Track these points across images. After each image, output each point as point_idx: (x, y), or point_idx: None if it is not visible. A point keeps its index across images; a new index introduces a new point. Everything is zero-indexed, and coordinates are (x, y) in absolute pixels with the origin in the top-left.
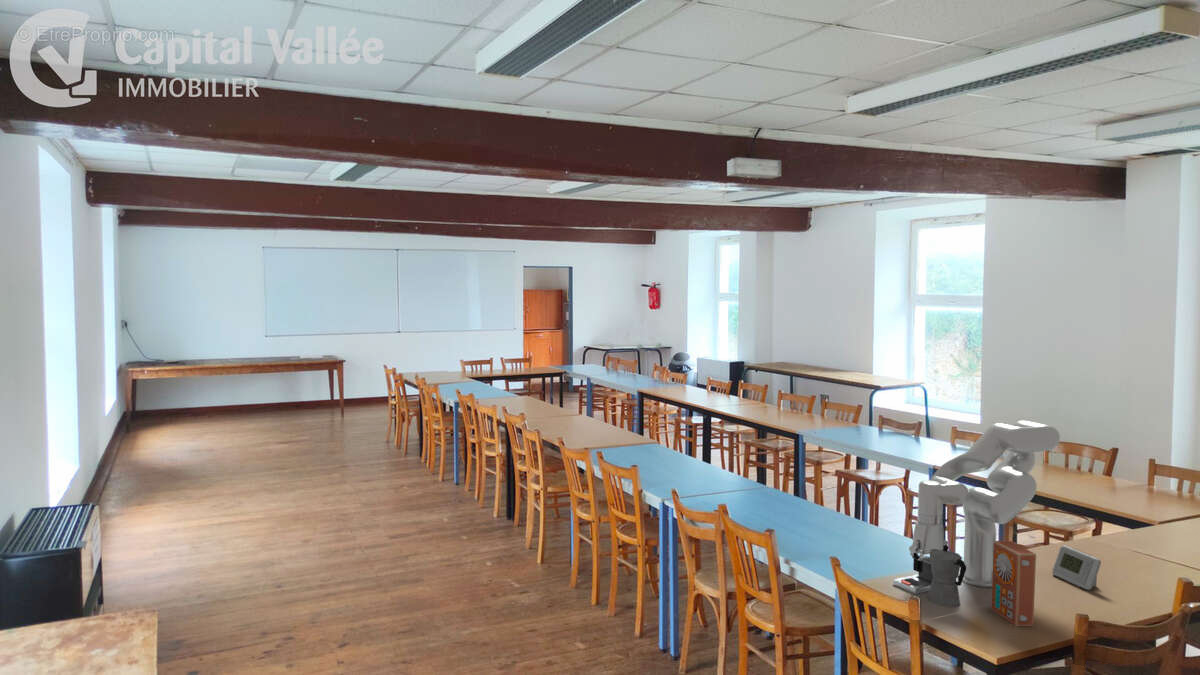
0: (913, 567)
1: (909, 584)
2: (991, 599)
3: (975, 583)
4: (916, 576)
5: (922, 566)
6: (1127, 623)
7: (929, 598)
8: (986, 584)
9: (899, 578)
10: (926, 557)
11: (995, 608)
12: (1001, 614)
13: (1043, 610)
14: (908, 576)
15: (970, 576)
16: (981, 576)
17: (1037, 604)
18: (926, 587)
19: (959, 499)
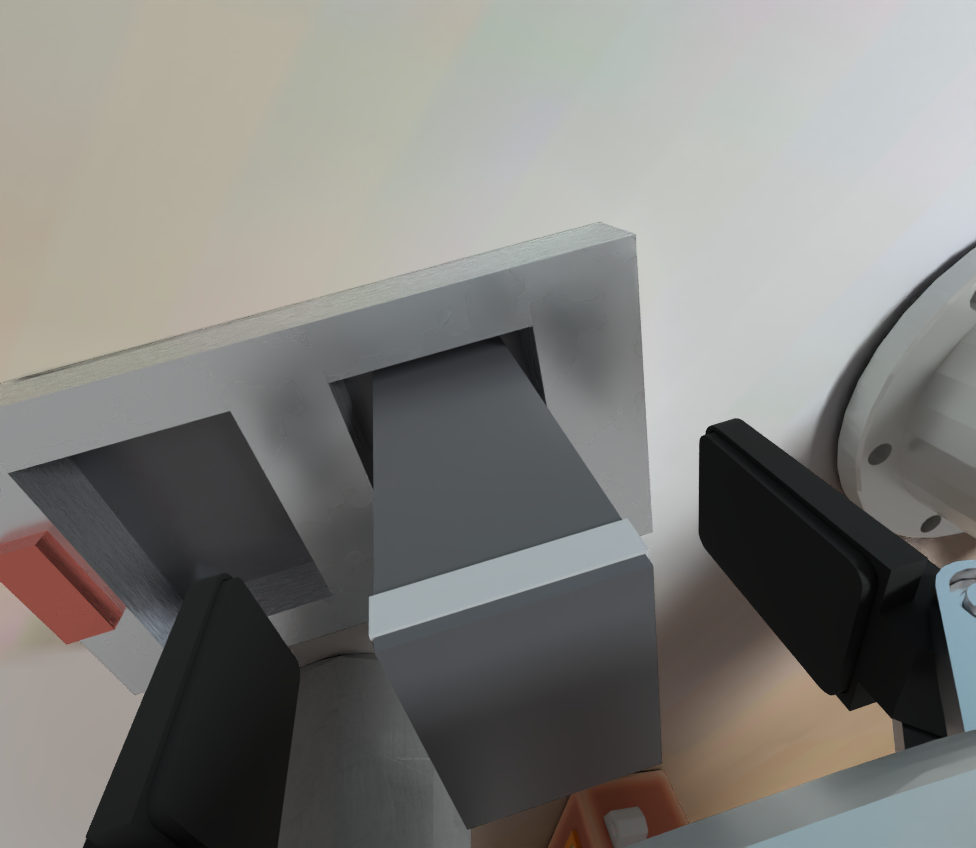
0: (181, 612)
1: (89, 630)
2: (615, 823)
3: (860, 504)
4: (362, 366)
5: (280, 774)
6: None
7: None
8: (904, 534)
9: (17, 410)
10: (567, 654)
11: (571, 830)
12: (554, 845)
13: (805, 761)
14: (226, 349)
15: (932, 463)
16: (970, 534)
17: (857, 713)
18: (306, 631)
19: None
